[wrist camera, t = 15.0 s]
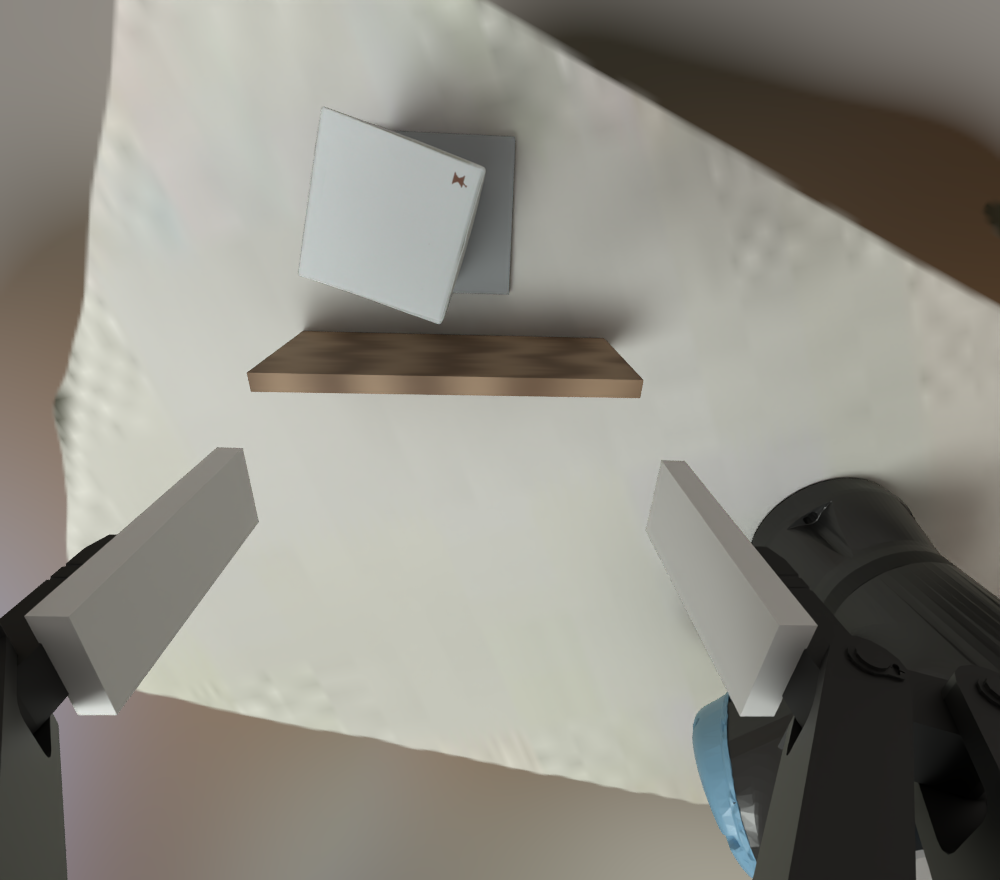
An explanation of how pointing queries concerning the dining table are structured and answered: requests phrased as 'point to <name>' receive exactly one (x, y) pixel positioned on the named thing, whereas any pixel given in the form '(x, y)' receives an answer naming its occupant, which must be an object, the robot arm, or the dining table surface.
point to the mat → (484, 208)
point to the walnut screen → (446, 366)
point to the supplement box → (387, 216)
